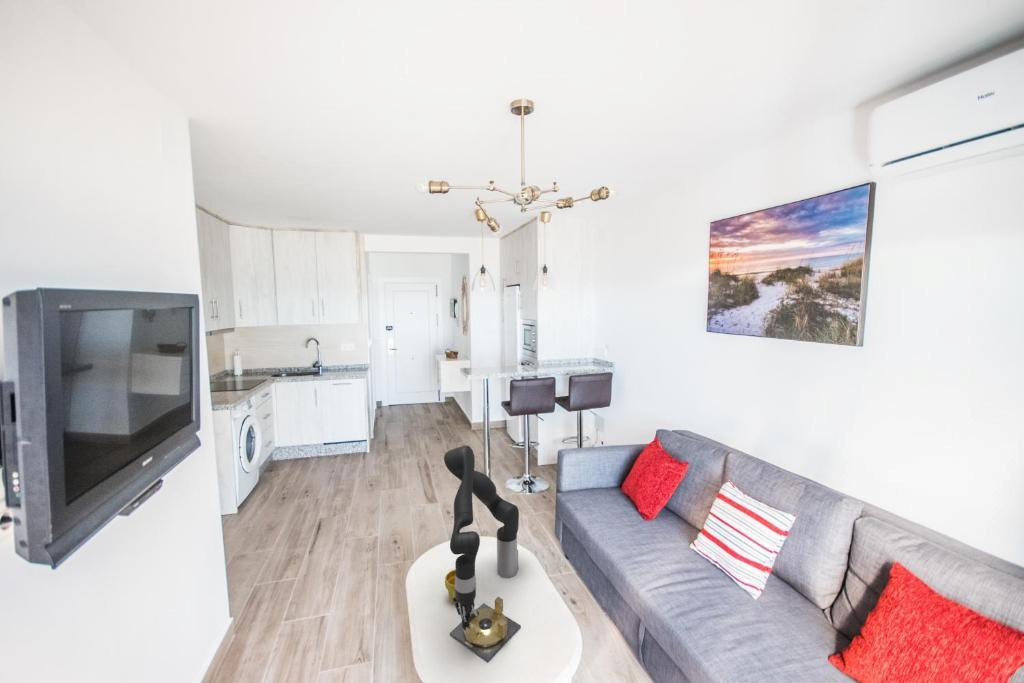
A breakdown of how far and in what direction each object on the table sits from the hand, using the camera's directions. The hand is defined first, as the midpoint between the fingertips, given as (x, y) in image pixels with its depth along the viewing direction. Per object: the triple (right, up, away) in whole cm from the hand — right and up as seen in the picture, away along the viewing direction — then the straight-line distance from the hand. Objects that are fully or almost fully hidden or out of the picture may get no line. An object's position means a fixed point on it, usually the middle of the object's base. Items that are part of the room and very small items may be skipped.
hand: (465, 628), depth 151 cm
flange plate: (+7, -5, +6) cm, 10 cm away
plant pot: (-6, -4, +23) cm, 24 cm away
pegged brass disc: (+7, -4, +6) cm, 10 cm away
